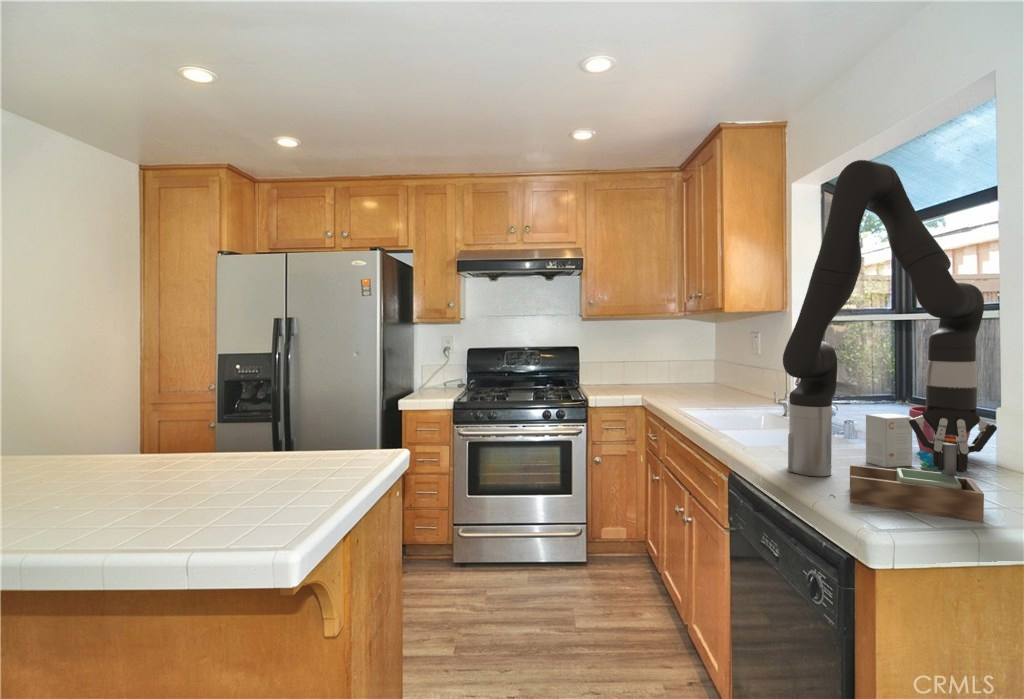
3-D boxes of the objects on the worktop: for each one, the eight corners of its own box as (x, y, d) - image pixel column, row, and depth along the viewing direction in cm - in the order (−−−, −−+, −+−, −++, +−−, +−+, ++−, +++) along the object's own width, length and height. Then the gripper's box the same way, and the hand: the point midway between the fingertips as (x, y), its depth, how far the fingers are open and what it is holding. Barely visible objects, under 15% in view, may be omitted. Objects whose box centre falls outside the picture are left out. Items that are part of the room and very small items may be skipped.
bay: (850, 502, 103) (850, 476, 103) (849, 488, 112) (850, 464, 112) (983, 522, 91) (984, 493, 91) (970, 504, 100) (971, 478, 100)
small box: (890, 459, 135) (891, 412, 134) (912, 466, 128) (913, 416, 128) (864, 461, 133) (865, 414, 133) (885, 468, 127) (886, 418, 127)
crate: (899, 501, 99) (900, 444, 99) (896, 490, 106) (897, 436, 106) (961, 510, 94) (962, 449, 94) (953, 498, 101) (954, 441, 100)
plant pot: (934, 461, 133) (935, 414, 132) (896, 448, 147) (897, 406, 146) (990, 461, 132) (991, 413, 132) (946, 448, 146) (947, 405, 146)
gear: (977, 484, 108) (937, 450, 110) (956, 503, 108) (916, 468, 111) (947, 477, 118) (911, 446, 121) (928, 493, 119) (892, 462, 121)
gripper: (907, 384, 98) (906, 470, 99) (1004, 387, 90) (1003, 480, 91) (904, 380, 104) (903, 461, 105) (994, 383, 96) (992, 470, 97)
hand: (949, 469), depth 98 cm, fingers closed on crate, 2 cm apart
